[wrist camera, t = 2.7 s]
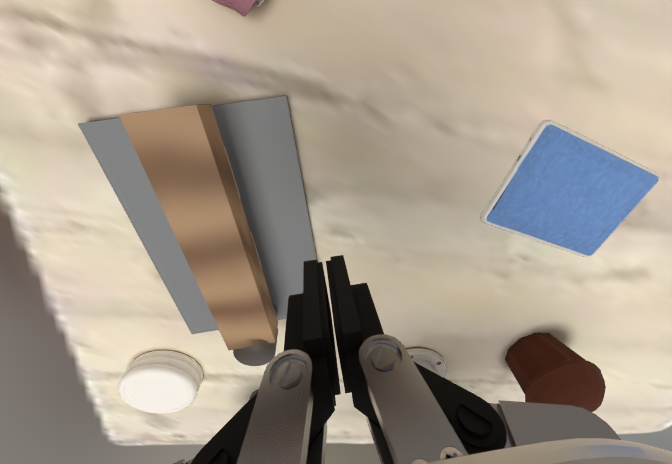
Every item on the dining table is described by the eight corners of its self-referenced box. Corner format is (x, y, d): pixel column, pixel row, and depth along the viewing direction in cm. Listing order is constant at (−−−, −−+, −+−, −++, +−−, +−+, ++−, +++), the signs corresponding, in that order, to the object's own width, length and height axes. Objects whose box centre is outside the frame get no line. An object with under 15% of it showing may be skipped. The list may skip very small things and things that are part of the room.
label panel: (325, 305, 36) (327, 329, 32) (195, 327, 35) (182, 353, 31) (286, 96, 24) (283, 95, 20) (88, 122, 23) (46, 126, 19)
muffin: (570, 322, 43) (639, 379, 34) (553, 364, 48) (609, 423, 39) (502, 334, 43) (553, 395, 34) (492, 375, 48) (534, 438, 39)
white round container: (156, 397, 41) (143, 421, 38) (116, 358, 36) (98, 382, 33) (215, 382, 41) (208, 405, 38) (183, 340, 36) (171, 363, 33)
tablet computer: (474, 218, 32) (480, 222, 31) (539, 116, 28) (549, 116, 26) (581, 254, 37) (590, 259, 36) (653, 173, 32) (666, 175, 31)
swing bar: (283, 339, 32) (281, 361, 29) (243, 346, 31) (237, 369, 29) (211, 104, 20) (196, 104, 17) (144, 113, 19) (118, 114, 17)
